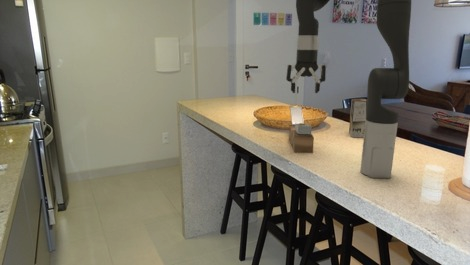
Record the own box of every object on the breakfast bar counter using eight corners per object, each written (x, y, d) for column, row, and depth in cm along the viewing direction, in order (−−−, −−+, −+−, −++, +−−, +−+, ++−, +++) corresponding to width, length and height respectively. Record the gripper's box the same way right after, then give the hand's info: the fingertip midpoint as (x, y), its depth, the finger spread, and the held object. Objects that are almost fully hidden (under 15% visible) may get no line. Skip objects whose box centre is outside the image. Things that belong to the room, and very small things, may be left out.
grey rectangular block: (311, 134, 130) (311, 125, 129) (297, 134, 130) (298, 124, 129) (307, 131, 138) (307, 122, 138) (294, 131, 139) (295, 122, 138)
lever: (304, 124, 147) (301, 105, 155) (291, 124, 147) (289, 105, 156) (304, 126, 148) (301, 107, 156) (291, 126, 148) (289, 107, 157)
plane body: (313, 152, 131) (314, 135, 129) (294, 152, 131) (294, 135, 130) (305, 139, 149) (306, 124, 147) (288, 139, 149) (289, 124, 147)
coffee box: (366, 138, 151) (369, 101, 147) (350, 137, 152) (354, 101, 148) (362, 132, 160) (366, 98, 156) (348, 132, 161) (351, 97, 157)
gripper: (324, 48, 130) (321, 91, 134) (286, 48, 130) (284, 91, 134) (329, 48, 122) (326, 94, 127) (288, 48, 123) (286, 94, 127)
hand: (304, 92), depth 130 cm, fingers open, 8 cm apart
